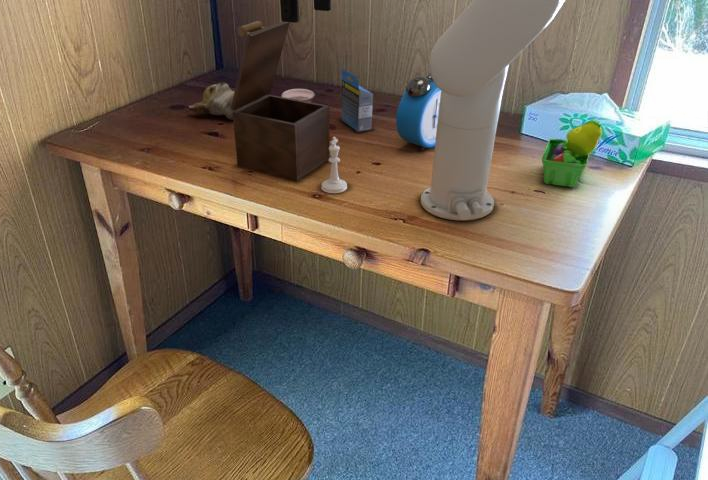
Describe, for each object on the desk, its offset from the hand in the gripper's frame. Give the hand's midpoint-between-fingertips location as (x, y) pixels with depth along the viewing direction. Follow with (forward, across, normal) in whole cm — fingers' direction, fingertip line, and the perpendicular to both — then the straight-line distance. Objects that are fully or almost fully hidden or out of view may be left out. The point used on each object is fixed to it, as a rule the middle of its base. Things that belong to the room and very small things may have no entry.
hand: (306, 15), depth 103 cm
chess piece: (+30, -1, -6) cm, 31 cm away
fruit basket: (+31, +25, -41) cm, 57 cm away
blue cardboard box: (+30, +29, +7) cm, 42 cm away
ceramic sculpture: (+29, +19, +39) cm, 52 cm away
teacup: (+30, +25, +20) cm, 44 cm away
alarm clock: (+30, +26, -11) cm, 42 cm away
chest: (+30, +3, +9) cm, 31 cm away
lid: (+11, +3, +13) cm, 17 cm away
